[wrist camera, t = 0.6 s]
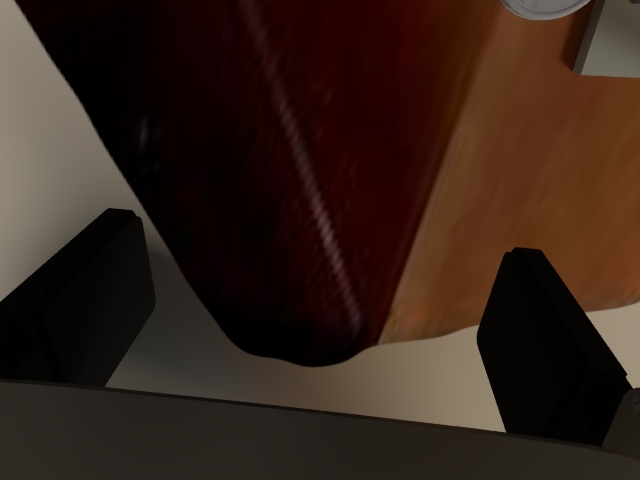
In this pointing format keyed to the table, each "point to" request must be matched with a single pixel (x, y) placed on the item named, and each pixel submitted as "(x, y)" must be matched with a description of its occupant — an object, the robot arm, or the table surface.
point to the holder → (611, 40)
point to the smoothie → (543, 8)
